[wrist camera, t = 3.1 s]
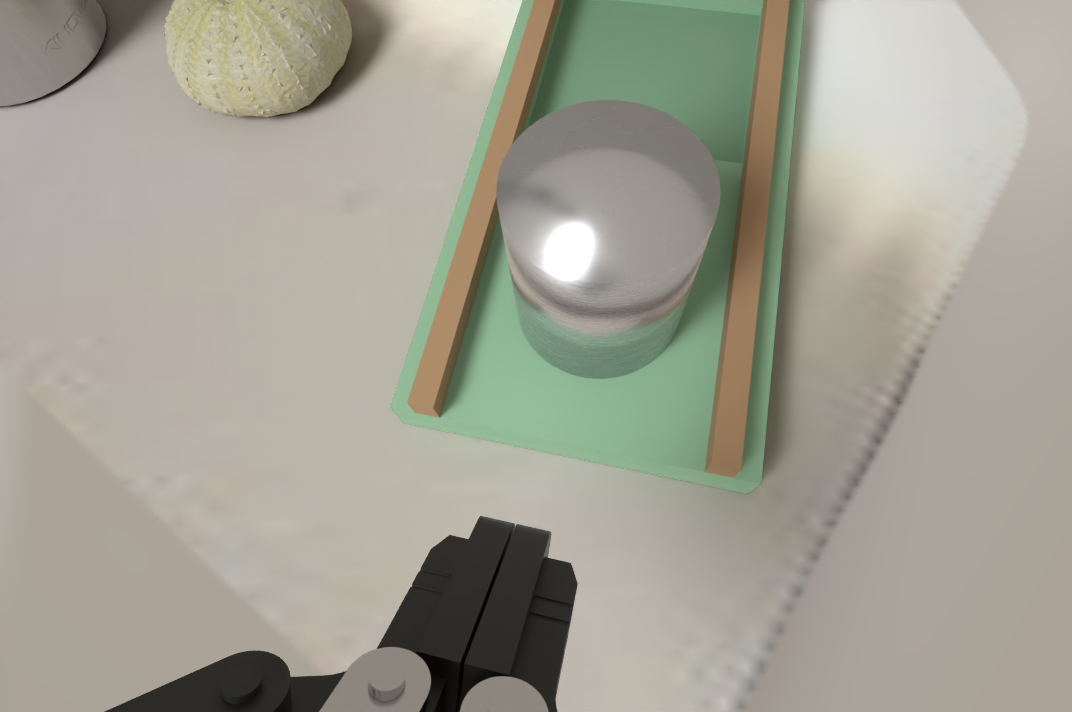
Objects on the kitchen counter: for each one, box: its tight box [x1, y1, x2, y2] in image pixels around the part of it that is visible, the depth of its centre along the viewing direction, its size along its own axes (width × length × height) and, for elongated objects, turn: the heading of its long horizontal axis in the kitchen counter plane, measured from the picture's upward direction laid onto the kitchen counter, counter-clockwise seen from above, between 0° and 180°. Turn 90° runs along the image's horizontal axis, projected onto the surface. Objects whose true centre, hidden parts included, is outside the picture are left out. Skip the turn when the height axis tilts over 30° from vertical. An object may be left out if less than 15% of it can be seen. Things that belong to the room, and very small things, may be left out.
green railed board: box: [390, 0, 805, 494], centre depth 28 cm, size 14×26×4 cm, turn 167°
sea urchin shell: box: [164, 0, 352, 118], centre depth 33 cm, size 9×8×8 cm
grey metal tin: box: [496, 100, 721, 379], centre depth 22 cm, size 7×7×8 cm
